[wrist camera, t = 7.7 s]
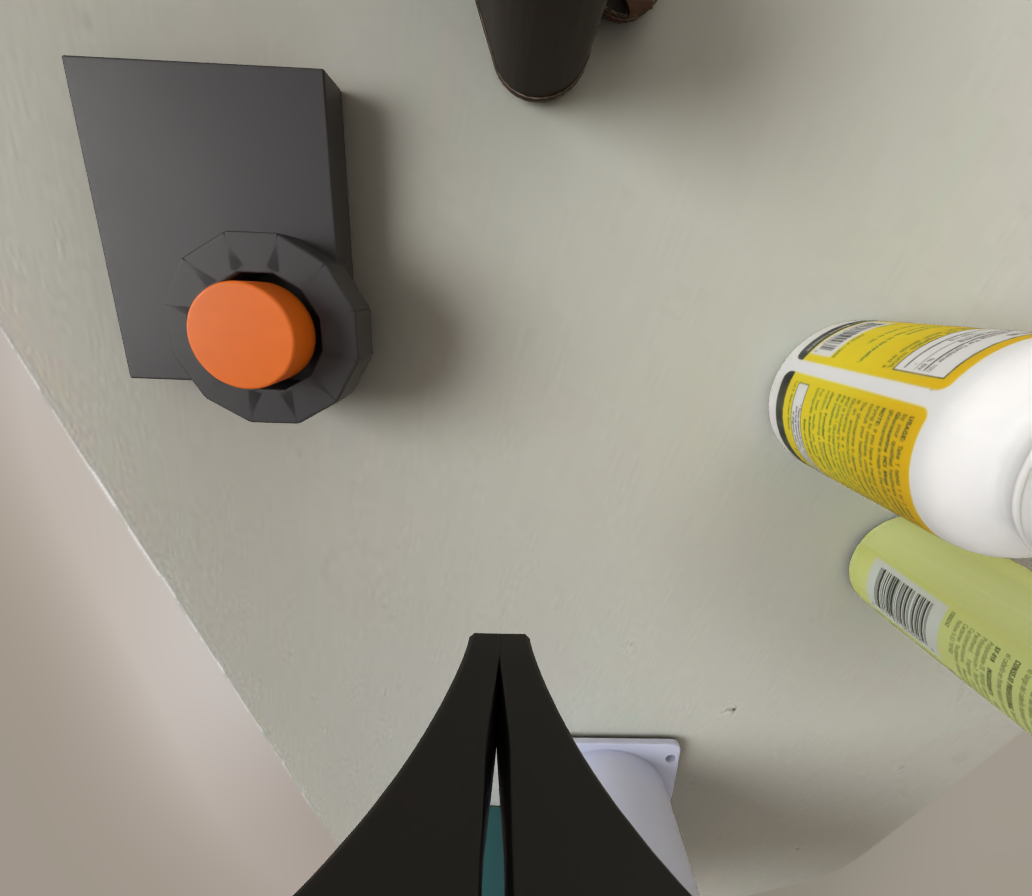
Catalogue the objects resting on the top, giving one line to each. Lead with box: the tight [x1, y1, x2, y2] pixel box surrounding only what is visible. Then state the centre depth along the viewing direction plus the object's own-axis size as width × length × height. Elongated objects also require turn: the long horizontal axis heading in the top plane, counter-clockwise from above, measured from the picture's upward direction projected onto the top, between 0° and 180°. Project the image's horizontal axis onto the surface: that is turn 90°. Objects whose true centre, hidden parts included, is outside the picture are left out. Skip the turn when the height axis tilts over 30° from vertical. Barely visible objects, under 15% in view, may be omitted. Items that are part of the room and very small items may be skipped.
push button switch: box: [62, 55, 372, 423], centre depth 16 cm, size 11×9×4 cm
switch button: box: [187, 280, 316, 389], centre depth 15 cm, size 3×3×2 cm
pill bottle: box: [769, 320, 1032, 558], centre depth 15 cm, size 6×6×11 cm
